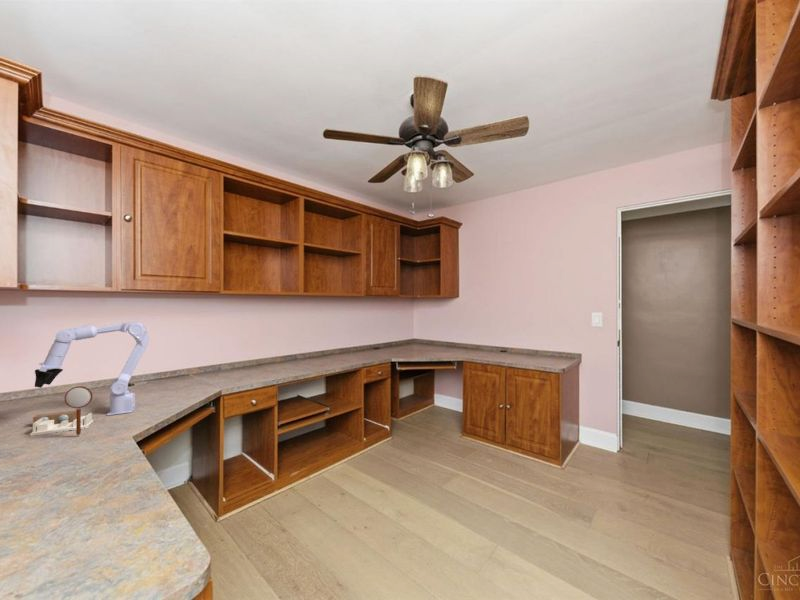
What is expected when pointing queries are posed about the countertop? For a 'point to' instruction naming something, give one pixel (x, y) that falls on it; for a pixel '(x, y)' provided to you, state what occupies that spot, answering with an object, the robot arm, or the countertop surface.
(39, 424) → the display stand
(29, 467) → the countertop surface
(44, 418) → the tan wooden plank
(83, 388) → the magnifying glass
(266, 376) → the countertop surface
